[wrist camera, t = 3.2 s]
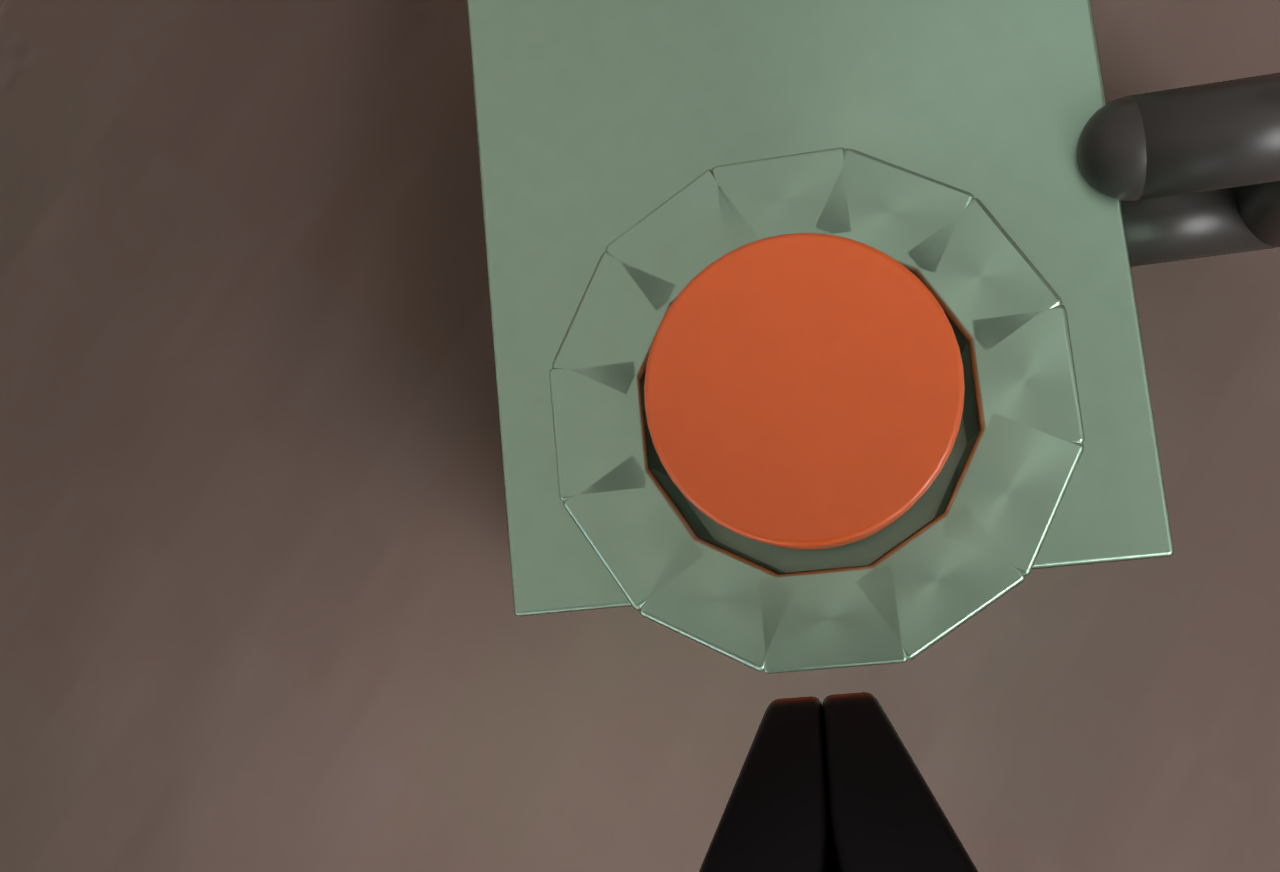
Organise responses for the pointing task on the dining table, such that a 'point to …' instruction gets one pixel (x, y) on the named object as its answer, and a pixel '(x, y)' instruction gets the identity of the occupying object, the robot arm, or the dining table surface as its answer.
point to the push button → (804, 390)
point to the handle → (1190, 168)
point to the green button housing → (806, 203)
